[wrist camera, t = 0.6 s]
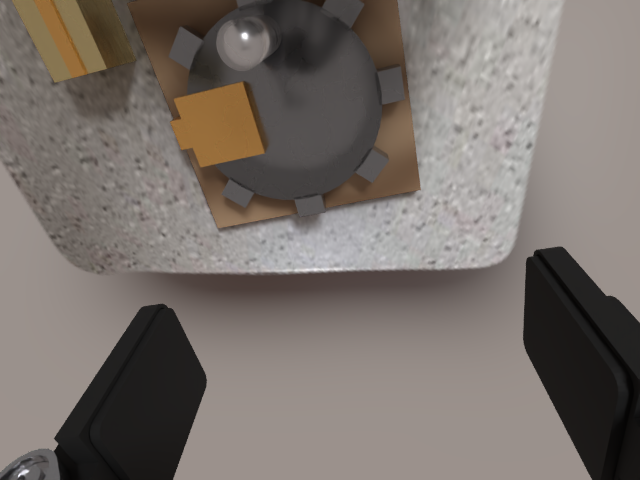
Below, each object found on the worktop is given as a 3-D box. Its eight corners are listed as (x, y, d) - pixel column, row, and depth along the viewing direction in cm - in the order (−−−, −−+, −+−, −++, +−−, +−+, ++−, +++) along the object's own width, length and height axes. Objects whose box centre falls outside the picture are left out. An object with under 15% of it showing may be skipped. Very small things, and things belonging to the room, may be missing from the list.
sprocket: (133, 9, 28) (58, 13, 21) (381, -63, 25) (396, -89, 18) (219, 225, 36) (188, 282, 29) (414, 187, 33) (434, 240, 26)
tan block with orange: (55, 0, 29) (9, -1, 25) (105, -16, 29) (65, -18, 25) (90, 72, 32) (52, 83, 28) (136, 60, 31) (105, 69, 27)
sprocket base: (133, 3, 29) (124, 3, 28) (386, -72, 26) (388, -75, 25) (221, 223, 38) (217, 229, 37) (418, 185, 35) (421, 191, 34)
